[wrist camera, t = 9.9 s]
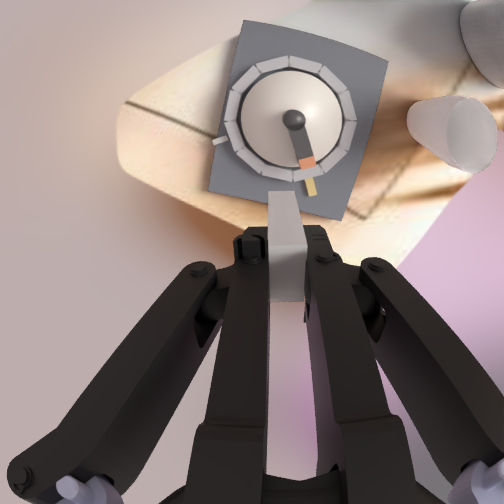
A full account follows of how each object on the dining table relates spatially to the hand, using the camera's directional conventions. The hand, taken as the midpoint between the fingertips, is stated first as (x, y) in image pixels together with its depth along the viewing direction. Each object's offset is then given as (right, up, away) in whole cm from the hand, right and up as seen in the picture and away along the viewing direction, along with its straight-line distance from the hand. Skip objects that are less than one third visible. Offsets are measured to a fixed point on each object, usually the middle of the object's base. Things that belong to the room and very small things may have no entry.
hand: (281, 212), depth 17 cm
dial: (+3, +14, +15) cm, 21 cm away
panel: (+4, +15, +17) cm, 23 cm away
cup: (+23, +16, +15) cm, 32 cm away
